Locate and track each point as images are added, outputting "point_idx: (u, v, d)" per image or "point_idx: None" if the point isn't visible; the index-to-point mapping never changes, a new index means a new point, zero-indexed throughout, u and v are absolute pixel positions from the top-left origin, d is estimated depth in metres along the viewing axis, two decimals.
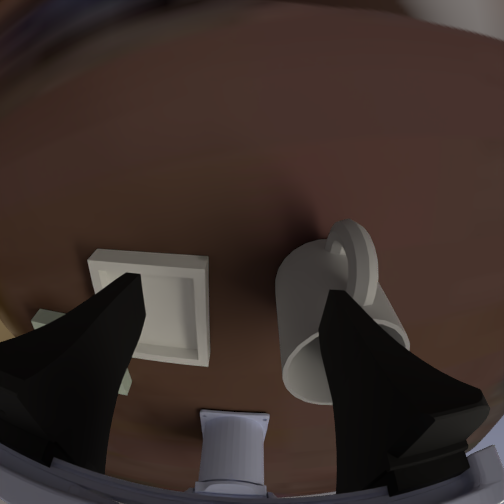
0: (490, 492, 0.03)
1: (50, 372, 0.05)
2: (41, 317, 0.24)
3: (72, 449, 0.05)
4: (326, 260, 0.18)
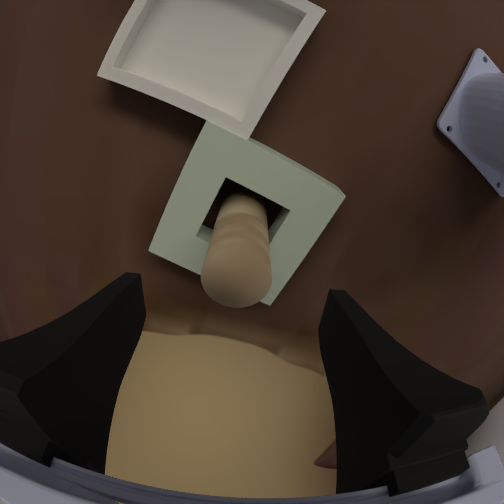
0: (490, 492, 0.03)
1: (50, 372, 0.05)
2: None
3: (72, 449, 0.05)
4: None
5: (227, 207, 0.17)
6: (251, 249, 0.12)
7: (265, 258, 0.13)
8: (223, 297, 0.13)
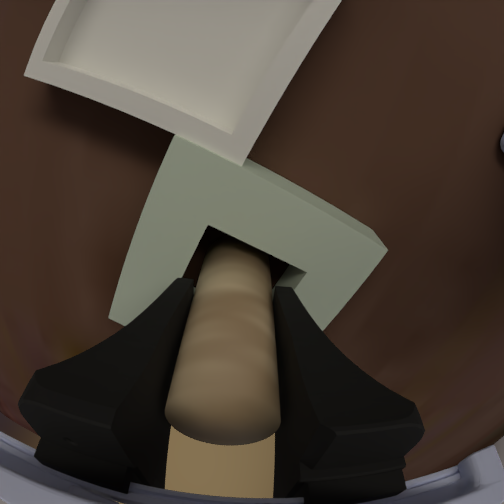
0: (490, 492, 0.03)
1: (134, 393, 0.05)
2: None
3: (146, 470, 0.05)
4: None
5: (211, 273, 0.11)
6: (246, 388, 0.06)
7: (271, 395, 0.07)
8: (204, 436, 0.07)
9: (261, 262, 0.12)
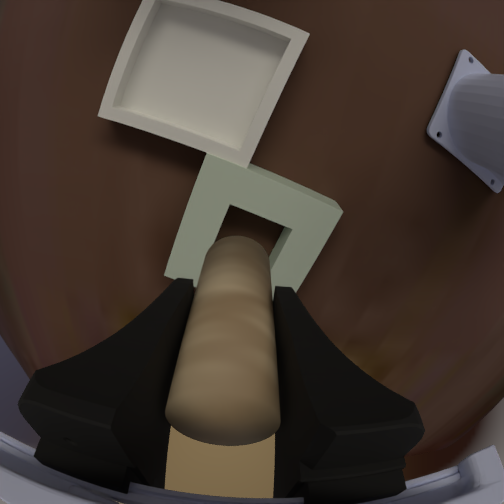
0: (490, 492, 0.03)
1: (134, 393, 0.05)
2: None
3: (146, 470, 0.05)
4: None
5: (210, 274, 0.11)
6: (246, 389, 0.06)
7: (270, 396, 0.07)
8: (204, 437, 0.07)
9: (261, 263, 0.12)
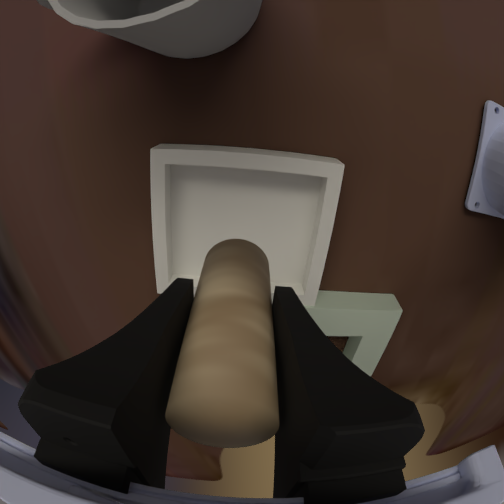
0: (490, 492, 0.03)
1: (134, 393, 0.05)
2: None
3: (146, 470, 0.05)
4: None
5: (207, 279, 0.11)
6: (239, 391, 0.07)
7: (266, 397, 0.07)
8: (207, 440, 0.07)
9: (258, 264, 0.12)
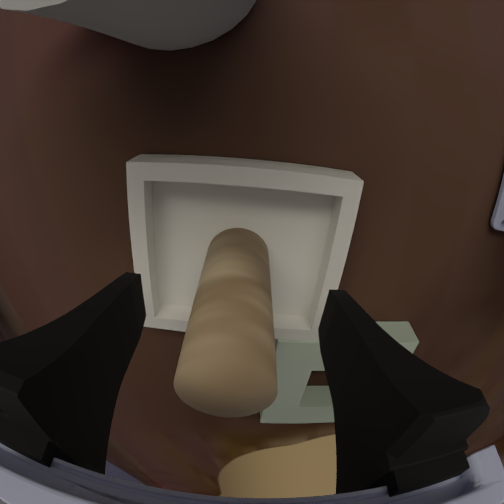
0: (490, 492, 0.03)
1: (50, 372, 0.05)
2: None
3: (72, 449, 0.05)
4: None
5: (211, 263, 0.12)
6: (241, 356, 0.08)
7: (265, 363, 0.08)
8: (211, 409, 0.09)
9: (258, 250, 0.13)
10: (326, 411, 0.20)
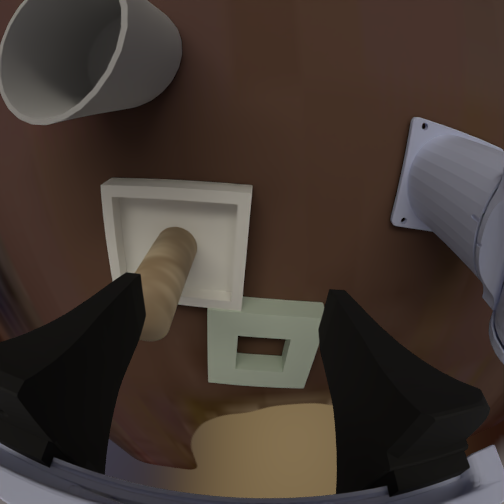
0: (490, 492, 0.03)
1: (50, 372, 0.05)
2: None
3: (72, 449, 0.05)
4: None
5: (150, 249, 0.18)
6: (145, 295, 0.14)
7: (160, 302, 0.14)
8: None
9: (183, 241, 0.20)
10: (260, 375, 0.26)
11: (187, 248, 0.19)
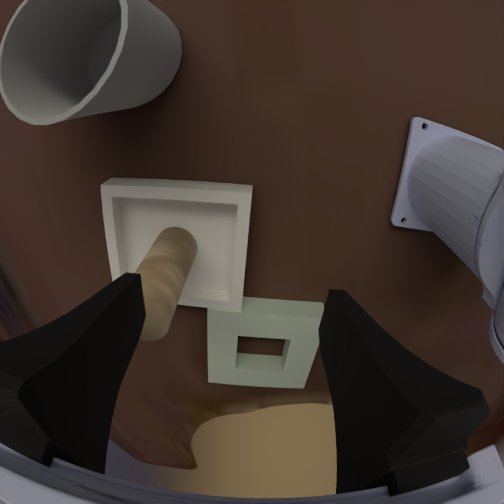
0: (490, 492, 0.03)
1: (50, 372, 0.05)
2: None
3: (72, 449, 0.05)
4: None
5: (150, 248, 0.18)
6: (145, 295, 0.14)
7: (159, 301, 0.14)
8: None
9: (183, 241, 0.20)
10: (260, 375, 0.26)
11: (187, 248, 0.19)
